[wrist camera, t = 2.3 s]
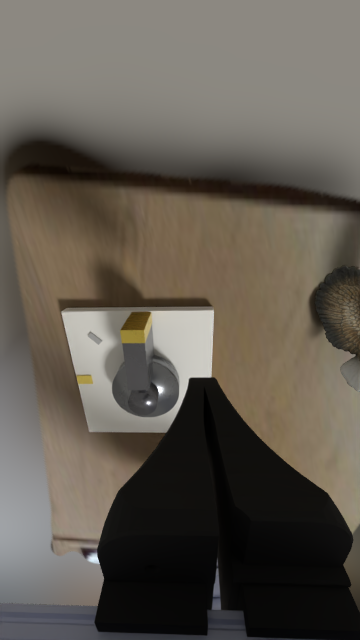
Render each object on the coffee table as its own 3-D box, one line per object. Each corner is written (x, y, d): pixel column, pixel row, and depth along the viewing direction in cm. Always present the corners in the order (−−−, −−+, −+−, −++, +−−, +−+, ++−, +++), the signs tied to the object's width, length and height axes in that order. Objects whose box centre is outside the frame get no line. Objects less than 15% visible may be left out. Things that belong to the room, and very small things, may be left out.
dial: (180, 405, 23) (179, 438, 19) (120, 405, 23) (108, 437, 19) (178, 310, 19) (176, 329, 15) (106, 311, 19) (88, 330, 15)
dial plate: (212, 306, 20) (214, 311, 19) (208, 425, 25) (208, 434, 24) (66, 307, 20) (60, 312, 19) (92, 424, 26) (88, 433, 25)
